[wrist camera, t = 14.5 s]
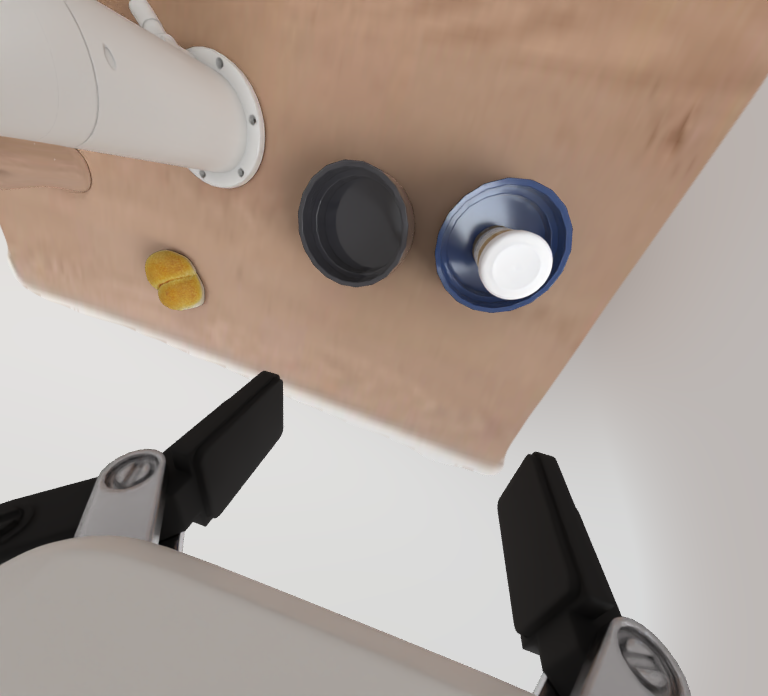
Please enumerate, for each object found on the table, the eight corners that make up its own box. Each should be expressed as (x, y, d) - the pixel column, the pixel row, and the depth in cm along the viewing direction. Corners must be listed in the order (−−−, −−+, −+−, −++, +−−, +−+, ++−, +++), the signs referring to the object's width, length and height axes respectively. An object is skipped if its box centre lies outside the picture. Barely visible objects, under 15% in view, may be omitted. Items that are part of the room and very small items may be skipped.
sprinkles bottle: (486, 276, 31) (502, 313, 20) (463, 243, 30) (466, 262, 19) (524, 250, 29) (568, 274, 18) (501, 214, 28) (531, 214, 17)
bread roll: (184, 242, 40) (158, 245, 36) (215, 300, 43) (194, 308, 39) (148, 258, 42) (120, 262, 39) (180, 312, 46) (157, 320, 42)
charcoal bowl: (301, 206, 33) (277, 205, 29) (383, 142, 29) (369, 129, 24) (351, 293, 37) (336, 303, 32) (432, 248, 32) (428, 254, 27)
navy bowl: (421, 224, 31) (414, 225, 27) (532, 156, 26) (547, 145, 22) (463, 315, 34) (464, 329, 30) (569, 270, 29) (588, 280, 25)
